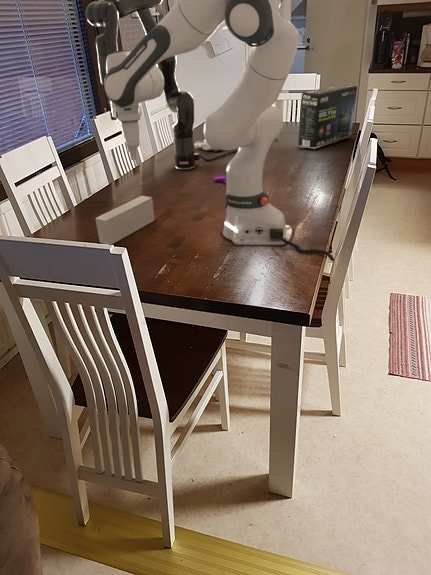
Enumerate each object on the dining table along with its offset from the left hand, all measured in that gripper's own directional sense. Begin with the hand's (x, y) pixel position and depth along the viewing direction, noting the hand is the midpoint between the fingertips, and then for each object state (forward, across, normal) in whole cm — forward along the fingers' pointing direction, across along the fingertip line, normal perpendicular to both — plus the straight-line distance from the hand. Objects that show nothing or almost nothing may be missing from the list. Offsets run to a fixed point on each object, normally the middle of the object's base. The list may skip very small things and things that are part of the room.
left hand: (116, 117), depth 169 cm
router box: (+30, -74, +92) cm, 122 cm away
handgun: (+30, -8, +41) cm, 51 cm away
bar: (+30, +35, +7) cm, 46 cm away
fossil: (+30, -71, +31) cm, 83 cm away
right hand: (+6, +29, +10) cm, 31 cm away
